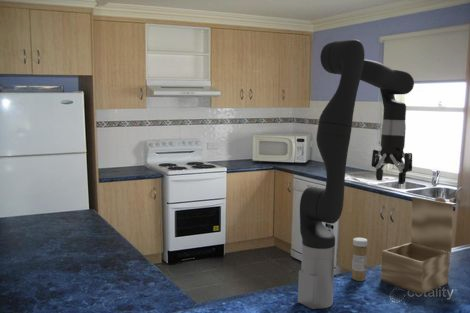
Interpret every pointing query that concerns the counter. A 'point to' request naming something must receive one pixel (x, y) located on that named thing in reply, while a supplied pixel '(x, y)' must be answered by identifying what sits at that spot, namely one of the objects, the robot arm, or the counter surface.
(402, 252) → the wooden box
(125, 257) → the counter surface
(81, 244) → the counter surface
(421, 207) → the wooden box lid
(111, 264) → the counter surface
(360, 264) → the sprinkles bottle
